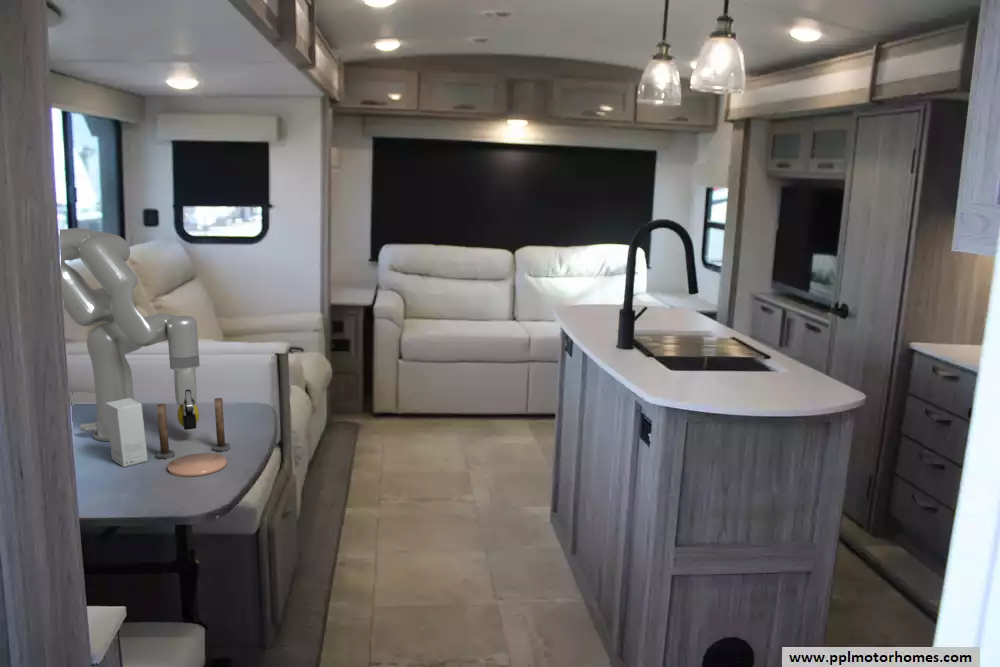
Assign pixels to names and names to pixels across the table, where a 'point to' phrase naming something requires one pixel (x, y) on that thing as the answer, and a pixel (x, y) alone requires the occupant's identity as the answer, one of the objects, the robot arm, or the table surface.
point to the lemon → (181, 413)
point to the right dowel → (220, 427)
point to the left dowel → (163, 434)
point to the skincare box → (126, 432)
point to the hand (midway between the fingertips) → (189, 424)
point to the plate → (197, 464)
